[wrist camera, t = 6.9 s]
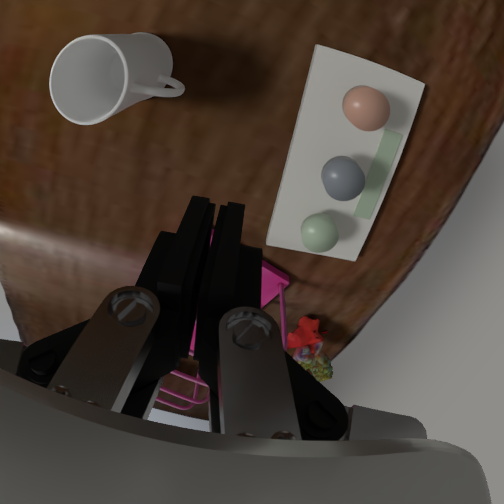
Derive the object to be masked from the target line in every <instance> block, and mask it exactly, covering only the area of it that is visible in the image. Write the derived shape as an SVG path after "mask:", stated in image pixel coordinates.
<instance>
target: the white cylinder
mask: <svg viewBox="0 0 504 504" xmlns="http://www.w3.org/2000/svg"><path fill="white" fill-rule="evenodd" d="M172 69H173V59H172V54H171V51H170V49H169V47H168V46H167V44H166V43H165V42H164V41H163V40H162V39H161V38H159V37H157V36H155V35H153V34H150V33H134V34H99V35H86V36H82V37H79V38H77V39H75V40H73V41H72V42H70V43H69V44H68V45H66V46H65V47H64V48H63V49H62V51H61V52H60V53H59V55H58V56H57V58H56V59H55V61H54V64H53V66H52V69H51V73H50V83H49V84H50V93H51V97H52V100H53V103H54V105H55V107H56V108H57V110H58V111H59V112H60V113H61V114H62V115H63V116H64V117H65V118H66V119H68V120H69V121H71V122H73V123H76V124H81V125H92V124H96V123H99V122H101V121H104V120H105V119H107V118H109V117H111V116H113V115H114V114H116V113H118V112H120V111H122V110H123V109H125V108H127V107H129V106H131V105H133V104H135V103H137V102H139V101H142V100H146V99H149V98H151V97H153V96H159V97H177V96H180V95H182V94H183V93H184V90H185V86H184V85H183V84H182V83H181V82H180V81H178V80H176V79H174V78H171V77H170V76H171V73H172ZM166 84H168V85H170V86H173V87H174V88H176V89H170V88H164V87H165V86H166Z"/></svg>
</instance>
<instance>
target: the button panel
mask: <svg viewBox="0 0 504 504" xmlns="http://www.w3.org/2000/svg"><path fill="white" fill-rule="evenodd" d="M359 85H365V86H369V87H372V88H374V89H376V90H378V91H380V92H381V93H383V94H384V95H385V97H386V98H387V100H388V102H389V105H390V116H389V119H388V121H387V122H386V124H385V125H384V126H383V127H381V128H380V129H378V130H375V131H363V130H360V129H358V128H357V127H355V126H354V125H353V124H352V123H351V122H350V121H349V120H348V119H347V118H346V116H345V115H344V112H343V109H342V102H343V98H344V96H345V94H346V93H347V92H348V91H349V90H350V89H351V88H353V87H355V86H359ZM424 86H425V84H424V83H422V82H420V81H418V80H415V79H413V78H411V77H409V76H406V75H404V74H402V73H399V72H397V71H394V70H392V69H389V68H387V67H384V66H382V65H379V64H376V63H374V62H371V61H368V60H365V59H363V58H360V57H357V56H354V55H351V54H348V53H344V52H341V51H338V50H335V49H331V48H328V47H324V46H321V45H315V49H314V53H313V57H312V61H311V65H310V69H309V73H308V77H307V81H306V85H305V89H304V93H303V97H302V101H301V105H300V109H299V113H298V117H297V121H296V125H295V129H294V133H293V137H292V141H291V145H290V148H289V152H288V156H287V160H286V164H285V168H284V172H283V176H282V180H281V183H280V187H279V191H278V195H277V199H276V203H275V206H274V210H273V214H272V218H271V222H270V226H269V229H268V233H267V237H266V245H270V246H276V247H281V248H287V249H292V250H298V251H303V252H308V253H314V254H319V255H325V256H330V257H335V258H341V259H346V260H352V261H356V259H357V257H358V255H359V252H360V250H361V248H362V246H363V244H364V242H365V240H366V237H367V235H368V233H369V231H370V229H371V226H372V224H373V222H374V220H375V217H376V215H377V213H378V210H379V208H380V206H381V203H382V201H383V199H384V196H385V194H386V191H387V189H388V187H389V184H390V182H391V179H392V177H393V174H394V172H395V169H396V166H397V164H398V161H399V159H400V156H401V153H402V151H403V148H404V145H405V143H406V140H407V137H408V134H409V131H410V129H411V126H412V123H413V120H414V117H415V114H416V111H417V108H418V105H419V102H420V99H421V95H422V92H423V89H424ZM336 156H347V157H350V158H352V159H353V160H355V161H356V162H357V164H358V165H359V167H360V168H361V169H362V171H363V173H364V175H365V186H364V189H363V191H362V192H361V193H360V195H359V196H357V197H356V198H354V199H352V200H349V201H338V200H335V199H333V198H331V197H330V196H329V195H328V193H327V192H326V190H325V187H324V185H323V182H322V178H321V172H322V169H323V166H324V165H325V163H326V162H327V161H329V160H330V159H331V158H333V157H336ZM315 213H324V214H327V215H329V216H330V217H332V218H333V220H334V221H335V224H336V227H337V230H338V233H339V239H338V242H337V244H336V245H335V246H334V247H333V248H332V249H330V250H329V251H326V252H322V253H316V252H312V251H310V250H308V249H307V248H306V247H305V246H304V245H303V242H302V236H301V225H302V222H303V221H304V220H305V219H306V218H307V217H308V216H310V215H312V214H315Z"/></svg>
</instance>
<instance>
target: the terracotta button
mask: <svg viewBox="0 0 504 504" xmlns="http://www.w3.org/2000/svg"><path fill="white" fill-rule="evenodd" d="M342 109H343V112H344V115H345V116H346V118H347V119H348V120H349V121H350V122H351V123H352V124H353V125H354V126H355V127H357V128H358V129H360V130H363V131H375V130H378V129H380V128H381V127H383V126H384V125H385V124H386V122H387V121H388V119H389V116H390V105H389V102H388V100H387V98H386V97H385V95H384V94H383V93H381V92H380V91H378V90H376V89H374V88H372V87H369V86H365V85H359V86H355V87H353V88H351V89H350V90H349V91H348V92H347V93H346V94H345V96H344V98H343V102H342Z"/></svg>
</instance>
